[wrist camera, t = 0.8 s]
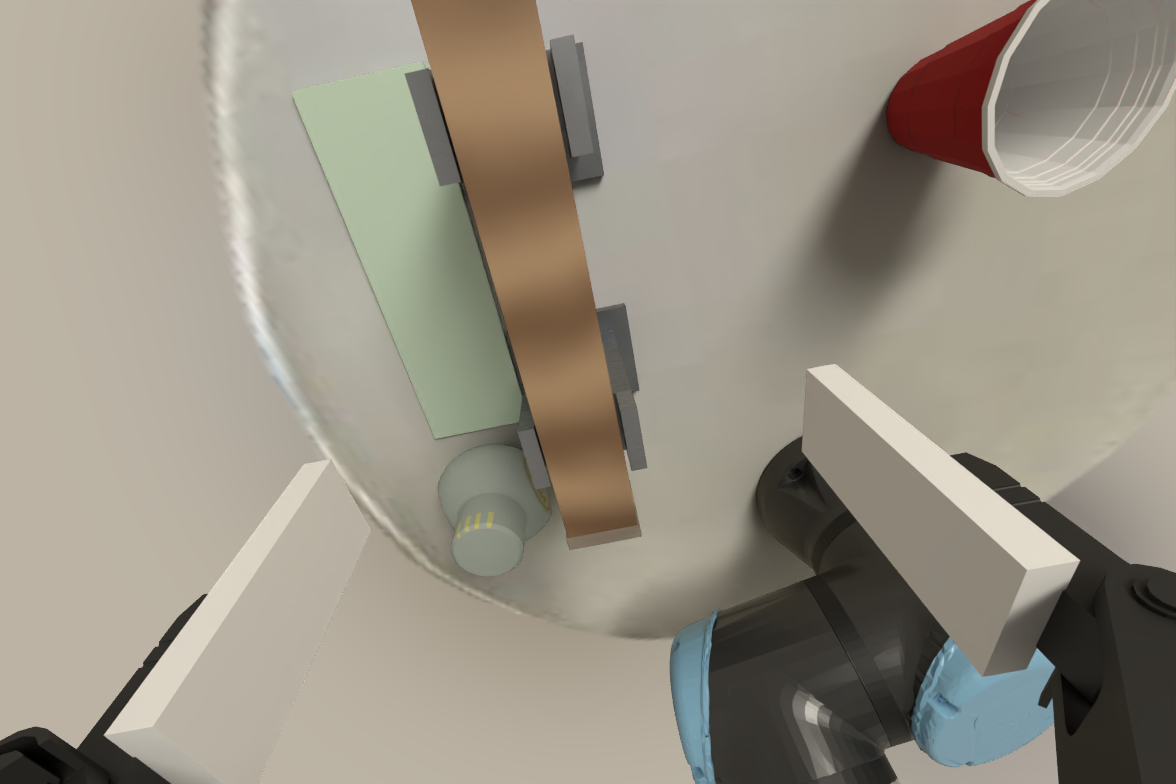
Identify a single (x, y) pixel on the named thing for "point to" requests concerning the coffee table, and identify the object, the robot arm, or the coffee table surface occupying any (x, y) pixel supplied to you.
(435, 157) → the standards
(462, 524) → the air freshener
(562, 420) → the rail
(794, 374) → the coffee table surface
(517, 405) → the mat
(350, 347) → the coffee table surface
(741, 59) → the coffee table surface
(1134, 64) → the plastic cup
